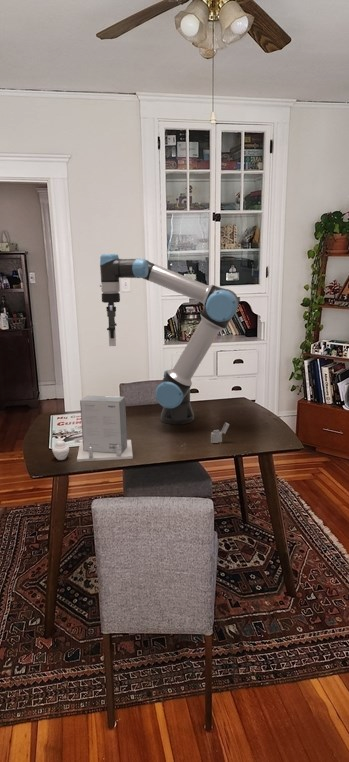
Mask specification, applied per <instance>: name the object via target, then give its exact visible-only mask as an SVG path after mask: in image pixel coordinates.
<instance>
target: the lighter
mask: <svg viewBox="0 0 349 762" xmlns="http://www.w3.org/2000/svg"><path fill="white" fill-rule="evenodd" d="M229 427H230V424H229V423H228V422H224V424H223V426H222V429H221V430H219V429H214V430H213V431H212V432H210V444H211V443H218V442H222V443H223V434H224V435H226V433H227V431H228V429H229Z"/></svg>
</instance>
